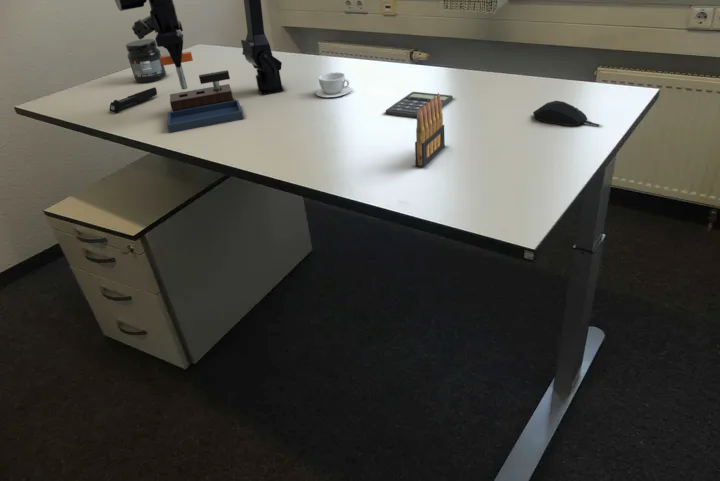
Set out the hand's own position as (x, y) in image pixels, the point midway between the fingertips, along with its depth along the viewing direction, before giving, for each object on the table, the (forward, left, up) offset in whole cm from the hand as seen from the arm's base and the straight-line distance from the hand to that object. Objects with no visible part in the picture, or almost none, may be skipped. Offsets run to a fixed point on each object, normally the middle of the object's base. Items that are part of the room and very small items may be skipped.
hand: (178, 66), depth 145 cm
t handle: (0, 0, -6) cm, 6 cm away
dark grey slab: (-8, -2, -13) cm, 16 cm away
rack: (-4, -2, -13) cm, 14 cm away
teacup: (-40, +5, -13) cm, 42 cm away
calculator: (-57, +28, -13) cm, 65 cm away
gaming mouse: (-82, +54, -13) cm, 99 cm away
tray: (-4, +8, -13) cm, 15 cm away
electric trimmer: (+16, -18, -13) cm, 27 cm away
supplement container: (+12, -45, -13) cm, 48 cm away
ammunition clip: (-48, +57, -13) cm, 76 cm away
